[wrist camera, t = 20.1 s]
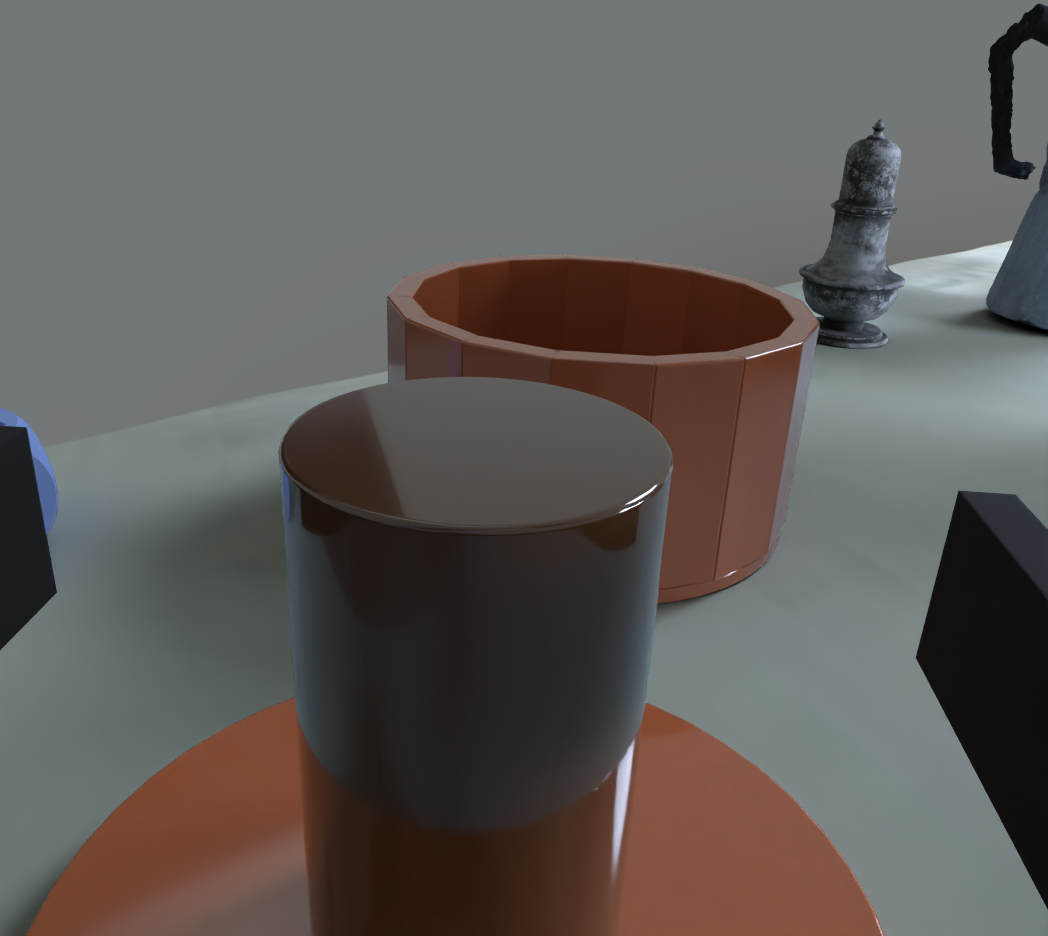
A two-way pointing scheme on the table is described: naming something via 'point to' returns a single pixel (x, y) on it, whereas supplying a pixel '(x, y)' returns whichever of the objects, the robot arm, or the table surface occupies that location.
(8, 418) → the decorative dice
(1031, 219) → the moka pot
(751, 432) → the pot
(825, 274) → the salt shaker
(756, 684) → the table surface
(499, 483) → the lid
